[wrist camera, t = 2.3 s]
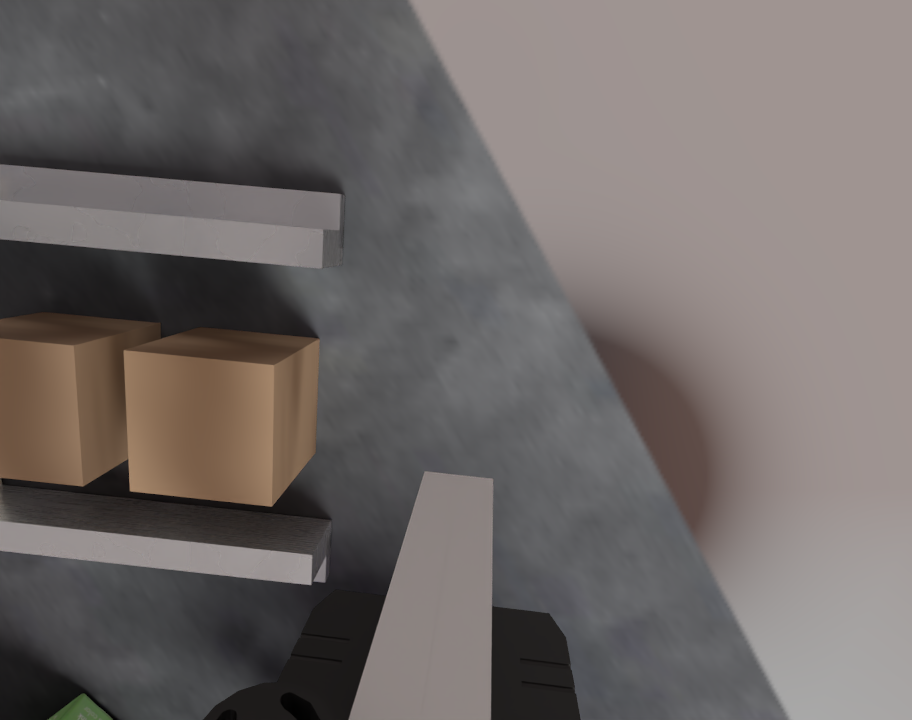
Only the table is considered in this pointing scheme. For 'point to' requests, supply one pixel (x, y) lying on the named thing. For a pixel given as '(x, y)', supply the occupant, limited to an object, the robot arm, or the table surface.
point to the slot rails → (185, 234)
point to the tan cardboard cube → (65, 395)
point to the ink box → (81, 710)
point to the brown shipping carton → (221, 414)
